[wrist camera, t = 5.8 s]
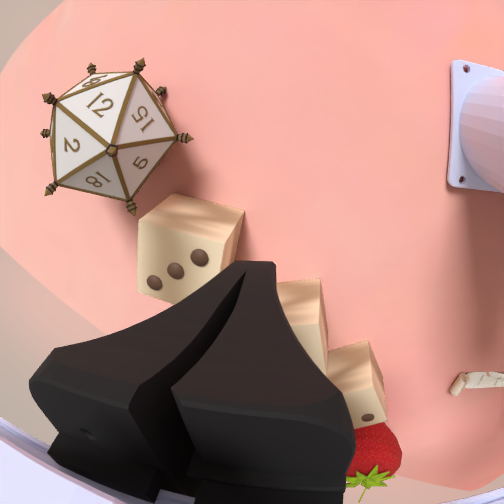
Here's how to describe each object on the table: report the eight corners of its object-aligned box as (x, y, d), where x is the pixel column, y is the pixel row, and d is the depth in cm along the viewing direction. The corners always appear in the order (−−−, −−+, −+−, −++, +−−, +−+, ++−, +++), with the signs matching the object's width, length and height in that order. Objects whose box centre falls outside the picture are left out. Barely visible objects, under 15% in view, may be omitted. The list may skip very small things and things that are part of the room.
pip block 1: (245, 210, 21) (224, 244, 17) (232, 273, 24) (211, 317, 19) (172, 192, 21) (135, 220, 17) (166, 254, 24) (135, 292, 19)
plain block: (320, 277, 22) (318, 323, 18) (327, 331, 24) (326, 379, 20) (251, 284, 24) (235, 329, 19) (265, 336, 26) (254, 382, 21)
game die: (161, 143, 24) (71, 238, 20) (104, 56, 18) (-8, 147, 14) (246, 133, 18) (128, 266, 14) (177, 6, 12) (3, 120, 8)
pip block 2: (367, 338, 24) (372, 387, 20) (382, 375, 26) (387, 422, 21) (309, 356, 26) (304, 404, 21) (329, 390, 28) (327, 435, 23)
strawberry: (364, 435, 30) (362, 514, 22) (321, 409, 29) (313, 498, 20) (409, 414, 28) (417, 498, 19) (370, 384, 26) (374, 482, 17)
